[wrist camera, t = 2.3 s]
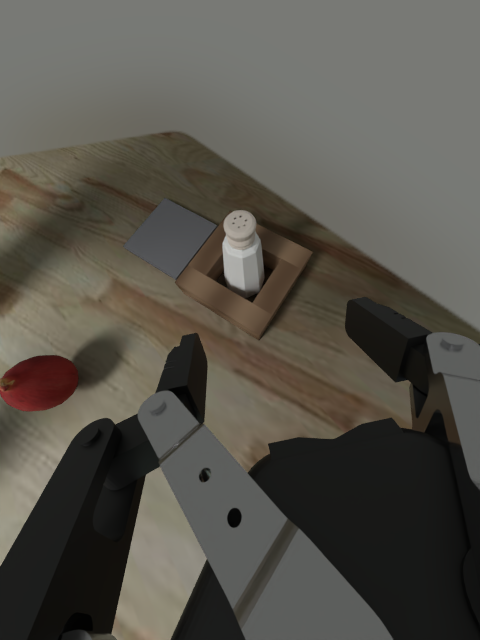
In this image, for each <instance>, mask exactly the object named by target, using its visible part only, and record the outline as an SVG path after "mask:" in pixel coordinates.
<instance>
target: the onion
mask: <svg viewBox="0 0 480 640" xmlns="http://www.w3.org/2000/svg"><path fill="white" fill-rule="evenodd" d="M78 379H79V378H78V370H77V369H76V367H75V365H74V364H73V363H72V362H71V361H70V360H68V359H66V358H64V357H61V356H57V355H44V356H36V357H32V358H29V359H27V360H24V361H22V362H19V363H18V364H17V365H15V366H14V367H12V368H11V369H10V370H8V371H7V372H6V373H5V374H4V376H3V377H2V379H0V394H1V397H2V398H3V399H4V401H5V402H6V403H7V404H8V405H10V406H12V407H14V408H16V409H19V410H22V411H40V410H47V409H50V408H53V407H55V406H57V405H60V404H62V403H63V402H64V401H66V400H67V399H68V398H69V397H70V396H71V395H72V394H73V393H74V391H75V389H76V387H77V385H78Z"/></svg>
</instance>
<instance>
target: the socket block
mask: <svg viewBox="0 0 480 640" xmlns="http://www.w3.org/2000/svg"><path fill="white" fill-rule="evenodd" d="M230 213H232V211H229V213H228V214H227V215H226V217H227V216H228V215H229V214H230ZM226 217H225V218H226ZM225 218H224V219H223V220H222V222H221V223H220V224H219V226H218V227H217V228H216V229H215V231H214V232H213V233H212V235H211V236H210V237H209V239H208V240H207V241H206V242H205V244H204V245H203V246H202V248H201V249H200V250H199V252H198V253H197V254H196V255H195V257H194V258H193V259H192V261H191V262H190V263H189V265H188V266H187V267H186V268H185V270H184V271H183V272H182V274H181V275H180V276H179V277H178V279H177V280H176V281H175V283H176V284H177V286H178V287H179V288H180V289H181V290H182V291H183V293H184V294H186V295H188V296H189V297H191V298H192V299H194V300H196V301H197V302H199V303H200V304H202V305H203V306H205V307H207V308H208V309H210V310H211V311H213V312H215V313H216V314H218V315H219V316H221V317H223V318H224V319H226V320H227V321H229V322H231V323H232V324H234V325H235V326H237V327H238V328H240V329H242V330H243V331H245V332H246V333H248V334H250V335H251V336H253V337H254V338H256V339H258V340H260V338H261V336H262V335H263V333H264V332H265V330H266V328H267V327H268V325H269V324H270V322H271V321H272V319H273V317H274V316H275V314H276V313H277V311H278V310H279V308H280V306H281V305H282V303H283V302H284V300H285V298H286V297H287V295H288V294H289V292H290V291H291V289H292V287H293V286H294V284H295V283H296V281H297V280H298V278H299V276H300V275H301V273H302V272H303V270H304V268H305V267H306V265H307V263H308V261H309V259H310V257H311V255H312V253H313V252H312V251H310V250H308V249H306V248H304V247H302V246H300V245H298V244H296V243H294V242H292V241H290V240H288V239H286V238H284V237H282V236H280V235H278V234H276V233H274V232H272V231H270V230H268V229H266V228H264V227H262V226H260V225H258V224H256V229H255V232H256V233H257V235H258V237H259V238H260V240H261V246H262V256H263V265H265V266H266V267H268V268H270V269H272V270H274V271H273V273H272V274H271V276H270V277H269V279H268V280H267V282H266V283H265V285H264V286H263V288H262V289H261V291H260V292H259V294H258V295H257V297H256V298H255V300H254V301H253V303H251V302H250V301H248V300H246V299H244V298H243V297H241V296H239V295H238V294H236V293H234V292H233V291H231V290H229V289H228V288H226V287H224V286H222V285H221V284H219V283H217V282H216V281H217V279H218V278H219V276H220V275H221V274H222V272H223V271H224V262H223V248H222V246H223V241H224V238H225V236H226V232H225V230H224V226H223V225H224V220H225Z"/></svg>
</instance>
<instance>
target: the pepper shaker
mask: <svg viewBox="0 0 480 640" xmlns="http://www.w3.org/2000/svg"><path fill="white" fill-rule="evenodd" d="M223 226H224V230H225V232H226V236H225V238H224V241H223V246H222V248H223V262H224V275H225V282H226V284H227V286H228V288H229V290H231V291H233V292H234V293H236V294H238V295H239V296H241V297H243V298H248V297H250V296H252V295H254V294H256V293H259V292H260V290H261V287H262V285H263V282H264V279H265V276H264V266H263V256H262V246H261V240H260V238H259V237H258V235H257V233H256V232H255V229H256V219H255V217H254V216H253V215H252V214H251V213H249V212H247V211H244V210H237V211H234V212H232V213H230V214H229V215H228V216H227V217H226V218H225V220H224V225H223Z"/></svg>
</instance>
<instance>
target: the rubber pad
mask: <svg viewBox="0 0 480 640" xmlns="http://www.w3.org/2000/svg"><path fill="white" fill-rule="evenodd" d="M216 228H217V225H216V224H214V223H212V222H210V221H208V220H206V219H204V218H202V217H200V216H198V215H197V214H195V213H193V212H191V211H189V210H187V209H185V208H183V207H181V206H179V205H178V204H176V203H174V202H172V201H170V200H168V199H166V198H164V199H163V201H162V202H161V203H160V204H159V205H158V206H157V207H156V209H155V210H154V211H153V212H152V213H151V214H150V216H149V217H148V218H147V219H146V220H145V221H144V223H143V224H142V225H141V226H140V227H139V228H138V229H137V231H136V232H135V233H134V234H133V235H132V236H131V238H130V239H129V240H128V241H127V242H126V243H125V244H124V246H123V247H124V248H125V249H127V250H128V251H130V252H132V253H133V254H135V255H136V256H138V257H140V258H141V259H143V260H145V261H146V262H148V263H149V264H151V265H153V266H154V267H156V268H158V269H159V270H161V271H162V272H164V273H166V274H167V275H169V276H170V277H172V278H174V279H175V280H177V279H178V277H179V276H180V275H181V274H182V272H183V271H184V270H185V268H186V267H187V266H188V265H189V263H190V262H191V261H192V259H193V258H194V257H195V255H196V254H197V253H198V252H199V250H200V249H201V248H202V246H203V245H204V244H205V242H206V241H207V240H208V239H209V237H210V236H211V235H212V233H213V232H214V231H215V229H216Z"/></svg>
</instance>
